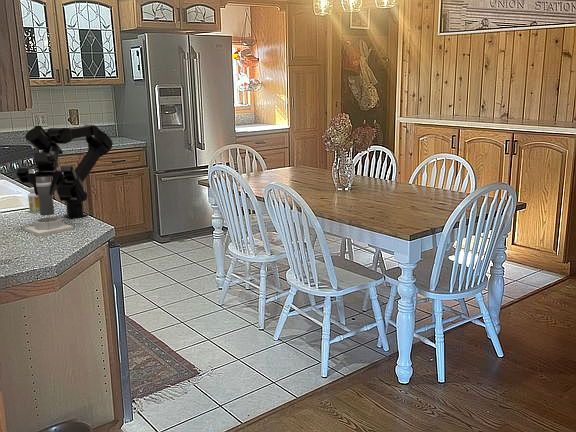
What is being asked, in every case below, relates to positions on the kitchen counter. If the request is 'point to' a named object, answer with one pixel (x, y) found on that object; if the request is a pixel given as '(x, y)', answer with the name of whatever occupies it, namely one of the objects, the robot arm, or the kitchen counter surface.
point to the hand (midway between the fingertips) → (43, 194)
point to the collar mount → (48, 226)
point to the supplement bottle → (33, 201)
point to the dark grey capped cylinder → (44, 195)
